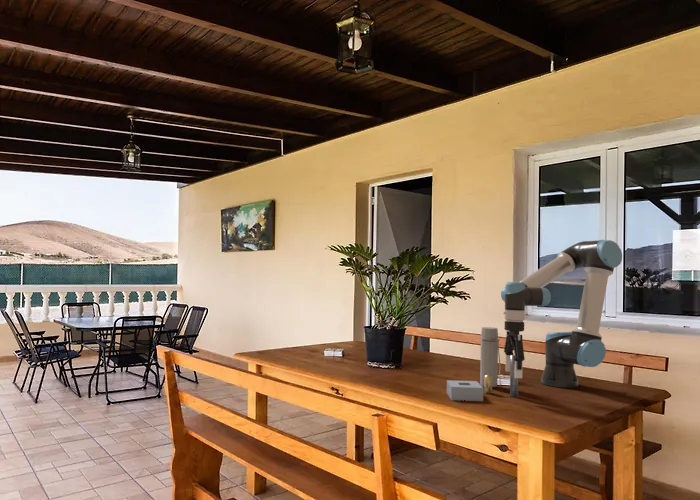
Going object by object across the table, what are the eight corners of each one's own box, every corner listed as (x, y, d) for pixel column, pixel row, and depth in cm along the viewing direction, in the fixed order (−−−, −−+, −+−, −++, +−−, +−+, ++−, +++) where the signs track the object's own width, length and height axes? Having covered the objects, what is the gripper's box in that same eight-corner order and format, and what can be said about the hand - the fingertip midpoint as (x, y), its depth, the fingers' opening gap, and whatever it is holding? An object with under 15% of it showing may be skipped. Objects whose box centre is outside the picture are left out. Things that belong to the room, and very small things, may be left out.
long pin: (516, 395, 207) (517, 355, 207) (518, 397, 204) (519, 356, 204) (509, 395, 207) (509, 355, 207) (511, 397, 204) (511, 356, 204)
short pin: (491, 392, 212) (491, 374, 212) (492, 393, 209) (492, 376, 209) (483, 392, 212) (483, 374, 212) (485, 393, 209) (485, 376, 209)
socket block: (476, 393, 209) (476, 381, 209) (483, 401, 197) (483, 387, 197) (446, 392, 209) (446, 380, 210) (451, 400, 197) (451, 386, 198)
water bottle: (485, 388, 218) (486, 328, 219) (476, 384, 226) (477, 326, 227) (505, 387, 221) (505, 328, 222) (495, 383, 228) (495, 326, 229)
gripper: (497, 317, 219) (496, 368, 218) (513, 323, 194) (512, 380, 193) (515, 318, 219) (514, 369, 218) (533, 324, 194) (532, 381, 193)
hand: (513, 374), depth 205 cm, fingers open, 13 cm apart
